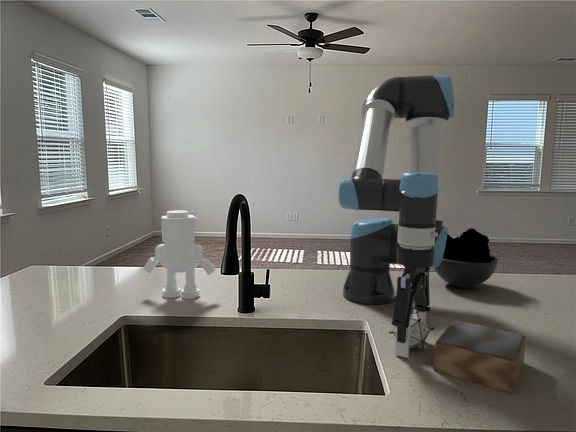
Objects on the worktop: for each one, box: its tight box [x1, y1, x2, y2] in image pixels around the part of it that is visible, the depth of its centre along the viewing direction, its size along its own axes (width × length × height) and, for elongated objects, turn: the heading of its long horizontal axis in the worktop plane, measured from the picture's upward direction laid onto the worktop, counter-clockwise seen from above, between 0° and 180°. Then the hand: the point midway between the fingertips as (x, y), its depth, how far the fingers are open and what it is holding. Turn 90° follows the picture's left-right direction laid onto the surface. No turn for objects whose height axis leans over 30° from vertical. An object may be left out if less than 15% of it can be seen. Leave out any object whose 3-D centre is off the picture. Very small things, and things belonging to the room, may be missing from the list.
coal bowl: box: [433, 227, 499, 288], centre depth 137 cm, size 20×20×19 cm
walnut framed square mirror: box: [433, 319, 527, 394], centre depth 84 cm, size 14×14×6 cm
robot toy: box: [143, 209, 216, 300], centre depth 124 cm, size 22×12×25 cm, turn 84°
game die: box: [387, 309, 435, 350], centre depth 92 cm, size 9×8×10 cm
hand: (410, 346), depth 92 cm, fingers closed on game die, 10 cm apart
